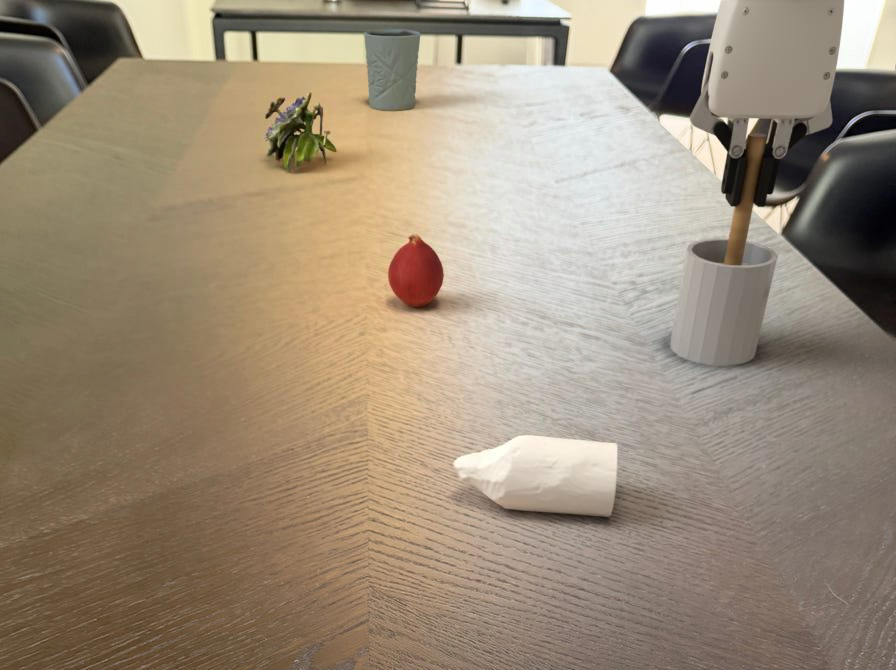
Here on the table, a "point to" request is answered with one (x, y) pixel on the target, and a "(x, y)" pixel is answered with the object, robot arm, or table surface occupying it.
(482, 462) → the white tapered cylinder
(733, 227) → the mallet
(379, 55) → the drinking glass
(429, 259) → the onion
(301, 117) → the passion flower
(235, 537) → the table surface
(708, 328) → the faceted pen holder
